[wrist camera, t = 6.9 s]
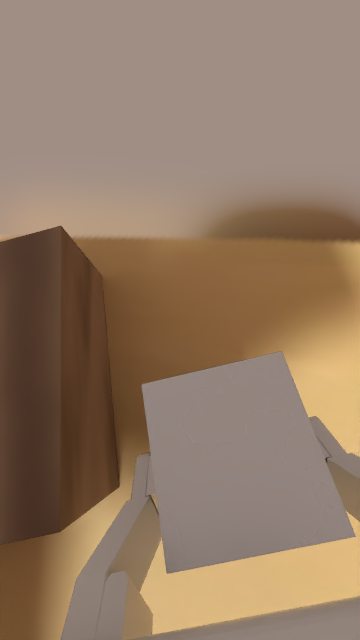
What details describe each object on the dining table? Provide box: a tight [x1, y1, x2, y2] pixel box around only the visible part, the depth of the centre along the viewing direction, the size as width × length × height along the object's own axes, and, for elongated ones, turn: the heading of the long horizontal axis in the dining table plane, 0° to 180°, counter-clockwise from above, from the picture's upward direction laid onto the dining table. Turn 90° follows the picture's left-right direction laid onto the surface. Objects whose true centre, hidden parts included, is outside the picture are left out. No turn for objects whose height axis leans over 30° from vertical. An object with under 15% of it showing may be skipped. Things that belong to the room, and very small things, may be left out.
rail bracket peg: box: [141, 351, 356, 574], centre depth 10 cm, size 4×4×10 cm
